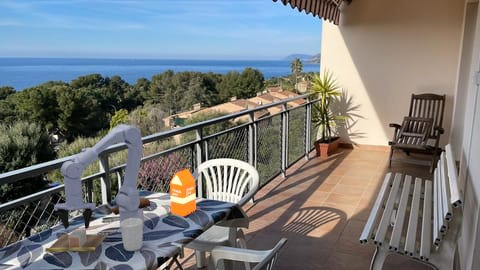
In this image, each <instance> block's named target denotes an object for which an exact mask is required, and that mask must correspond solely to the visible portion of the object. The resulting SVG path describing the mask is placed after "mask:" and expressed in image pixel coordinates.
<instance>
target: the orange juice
mask: <svg viewBox="0 0 480 270" xmlns="http://www.w3.org/2000/svg"><path fill="white" fill-rule="evenodd" d="M169 183H170V184H169V185H170V187H169V188H170V209H171V211H170V212H171V214H173V215H177V216H180V217H185V216H187V215H190V214H192V213H194V212H195V210H197V207H196V204H197V203H196V198H197V197H196V181H195V179H194V177H193V175H192V173H191V171H190V170H189V168H187V169H186V168H185V169H183V170H180V171H178V172H175V174H174V176H173V177H172V179H171V180H170V182H169ZM193 211H194V212H193ZM191 212H192V213H191Z"/></svg>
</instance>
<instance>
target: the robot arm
mask: <svg viewBox="0 0 480 270" xmlns="http://www.w3.org/2000/svg"><path fill="white" fill-rule="evenodd" d="M141 135H142V132H141V131H140V129H139V128H138V127H137V126H135V125H128V124H124V123H119V124H117V125H116V126H115V127H113V128H112V129H111V130H110V131H109V132H108V133H107V134H106V135H105V136H104V137H102V139H100V140H99V141H98V142H97V143H95V144H94V145H93V146H92V147H86V148H84V147H83V148H82V149H81V150H80V151H81V152H79V153H78V154H76V156H72V157H71V158H70V160H67V161H64V162H63V163H62V164H61V165H62V166H61V167H60V169H59V171H60V173H61V175H63V183H64V193H65V194H64V195H65V203H64V202H63V203H56V204H55V205H54V207H53V208H54V211H57V212H56V216H57V217H58V218H59V220H60V221H61V223H62V224H63V228H64V230H67V229H68V228H69V227H70V221H69V220H70V219H69V212H70V211H74V210H75V211H79V210H80V211H81V210H83V211H82V213H81V215H82V217H83V220H84V229H86V230H88V229H89V228H90V224H91V223H90V222H91V219H92V215H93V212H94V211H95V210H96V208H97V207H96V205H97V204H96V203H93V202H91V203H90V202H84V197H83V196H84V195H83V187H82V179H81V178H82V177H81V176H82V175H84V174H83V173H84V170H86V169H87V168H88V167H89V166H91V165H92V164H93V163H94V162H96V161H97V160H98V158H99V154H100V153H102V152H104V151H105V150H107V149H108V148H109V147H111V146H112V145H113V144H114V143H124V144H125V146H127V147H128V152H127V158H126V164H125V165H126V166H125V171H124V177H123V183H122V185H121V186H120V187H119V189H118V193H117V194H116V196H115V203H116V205H117V206H118V205H119V213H118V215H119V228H118V229H117V233H122V232H121V222H122V221H124V220H126V219H130V218H139V219H142V221H143V228H144V227H145V225H146V224H145V216H144V215H145V214H144V209H143V208H140V207H139V204H140V200H139V199H140V192H139V190H138V187H137V185H138V181H139V174H140V166H141V162H142V161H141V160H142V155H143V154H142V153H143V148H144V144H143V140H142V137H141Z"/></svg>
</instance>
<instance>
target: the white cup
mask: <svg viewBox="0 0 480 270" xmlns="http://www.w3.org/2000/svg"><path fill="white" fill-rule="evenodd" d="M143 228H144V227H143V221H142V219H139V218H130V219H126V220H124V221H122V222H121V232H120V233H121V237H122V238H121V240H122V242H123V243H122V244H123V248H124V251H127V252H135V251H138V250H140V249H142V248H143V239H144V238H143V236H144V235H143Z"/></svg>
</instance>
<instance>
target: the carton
mask: <svg viewBox="0 0 480 270" xmlns="http://www.w3.org/2000/svg"><path fill="white" fill-rule="evenodd" d="M86 234H87V229H85V228H76V229H74V230H73V231H72V232H71V233H70V234H68V235H69V236H68V237H69V248H81V247H82V246H83V245H84V244H85V243H86V242H87V237H86Z"/></svg>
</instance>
